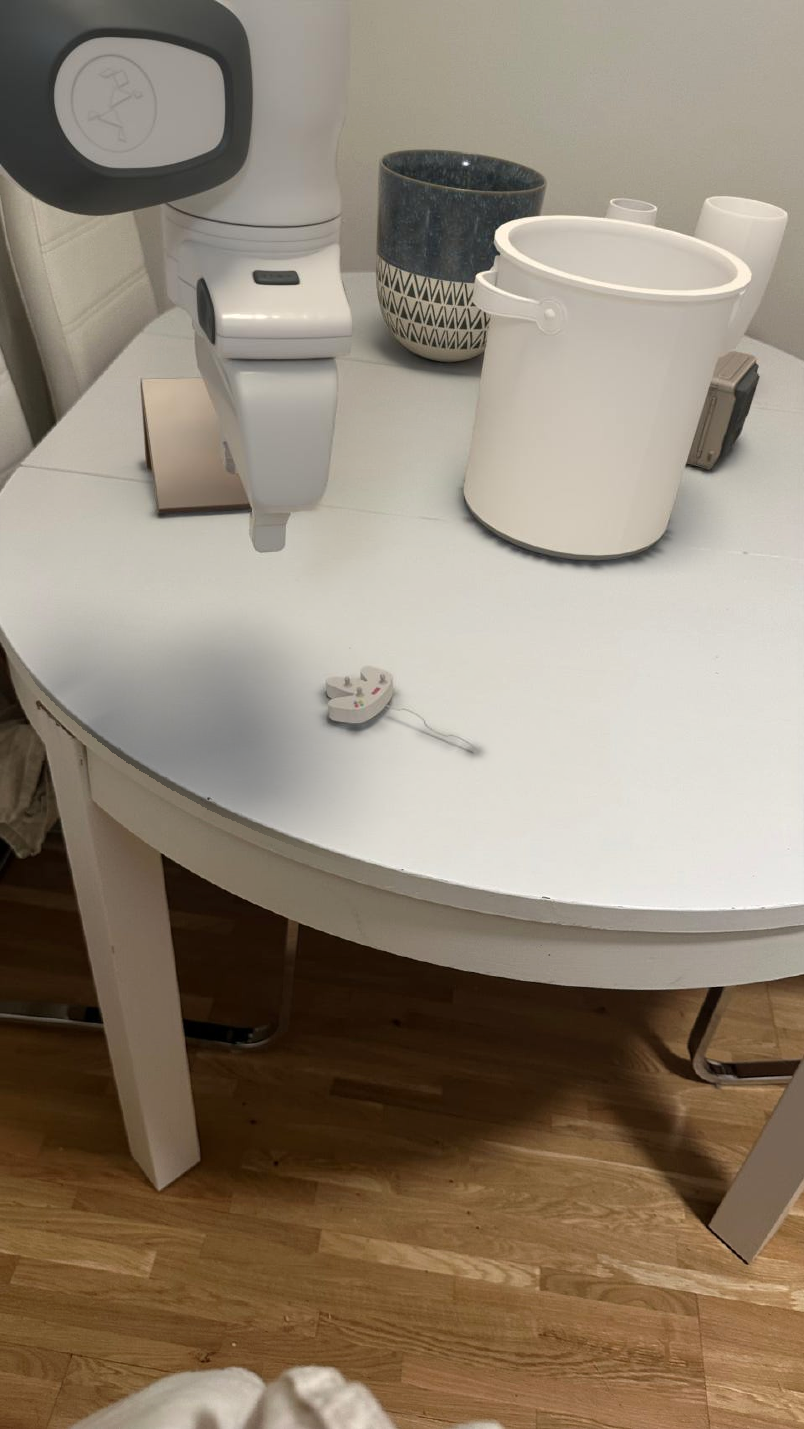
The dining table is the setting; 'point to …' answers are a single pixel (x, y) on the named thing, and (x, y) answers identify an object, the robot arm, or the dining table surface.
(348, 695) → the game controller
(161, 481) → the wedge
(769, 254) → the cup
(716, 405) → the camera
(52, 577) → the dining table surface
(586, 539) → the bucket
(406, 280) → the planter
